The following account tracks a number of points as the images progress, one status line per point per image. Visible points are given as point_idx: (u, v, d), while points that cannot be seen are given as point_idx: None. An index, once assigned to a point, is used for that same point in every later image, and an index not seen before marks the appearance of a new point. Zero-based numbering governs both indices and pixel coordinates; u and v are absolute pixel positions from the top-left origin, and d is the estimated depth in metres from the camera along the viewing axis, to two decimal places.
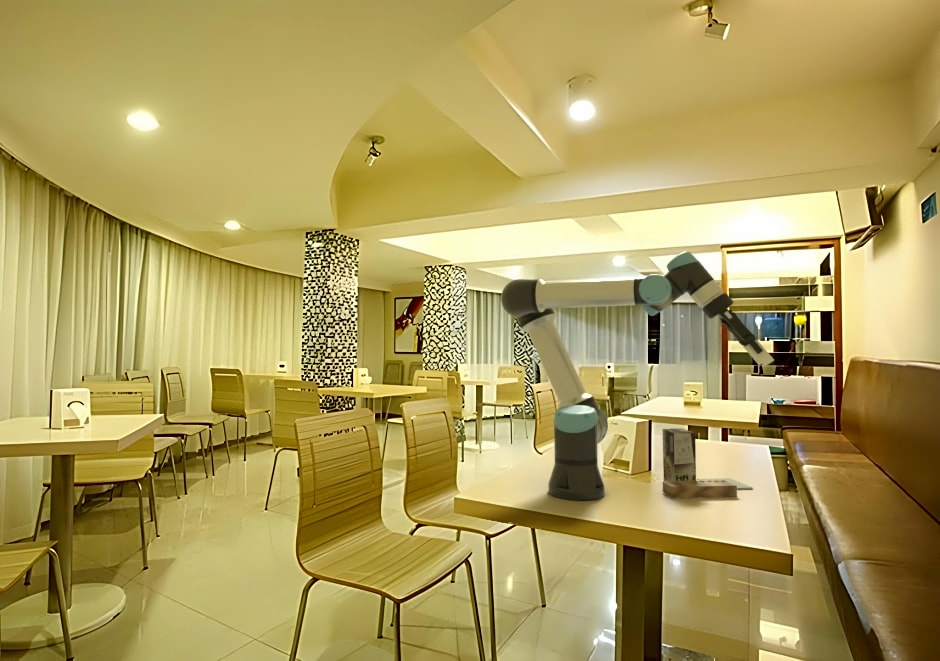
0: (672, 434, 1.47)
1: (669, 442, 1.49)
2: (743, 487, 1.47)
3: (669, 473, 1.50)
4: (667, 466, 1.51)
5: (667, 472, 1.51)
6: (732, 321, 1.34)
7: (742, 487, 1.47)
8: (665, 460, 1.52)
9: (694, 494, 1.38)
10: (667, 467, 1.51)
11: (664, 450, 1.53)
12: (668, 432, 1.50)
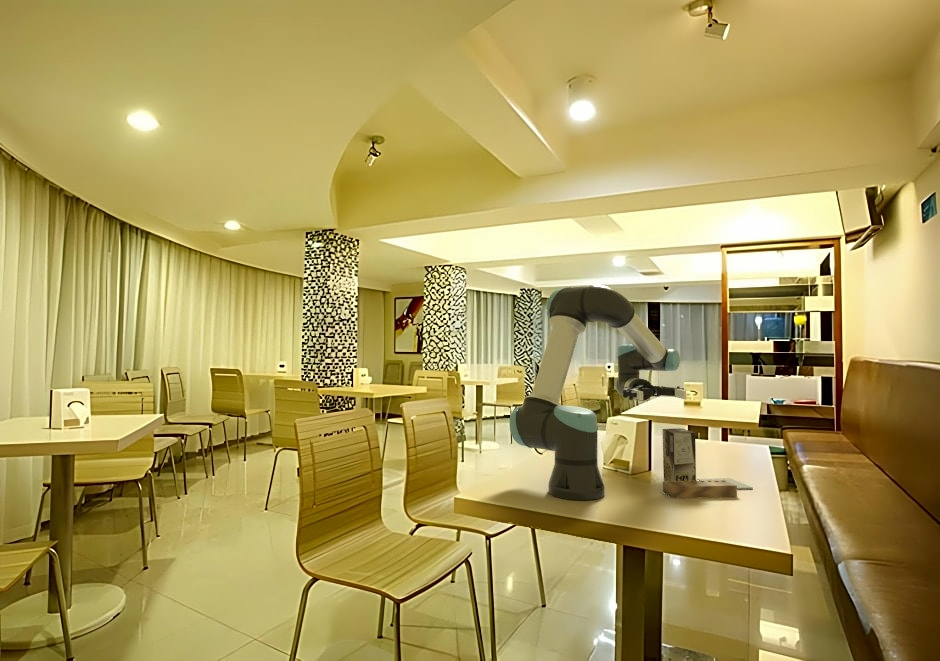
0: (672, 434, 1.47)
1: (669, 442, 1.49)
2: (743, 487, 1.47)
3: (669, 473, 1.50)
4: (666, 466, 1.51)
5: (667, 472, 1.51)
6: None
7: (742, 487, 1.47)
8: (665, 460, 1.52)
9: (694, 494, 1.38)
10: (667, 467, 1.51)
11: (664, 450, 1.53)
12: (668, 432, 1.50)
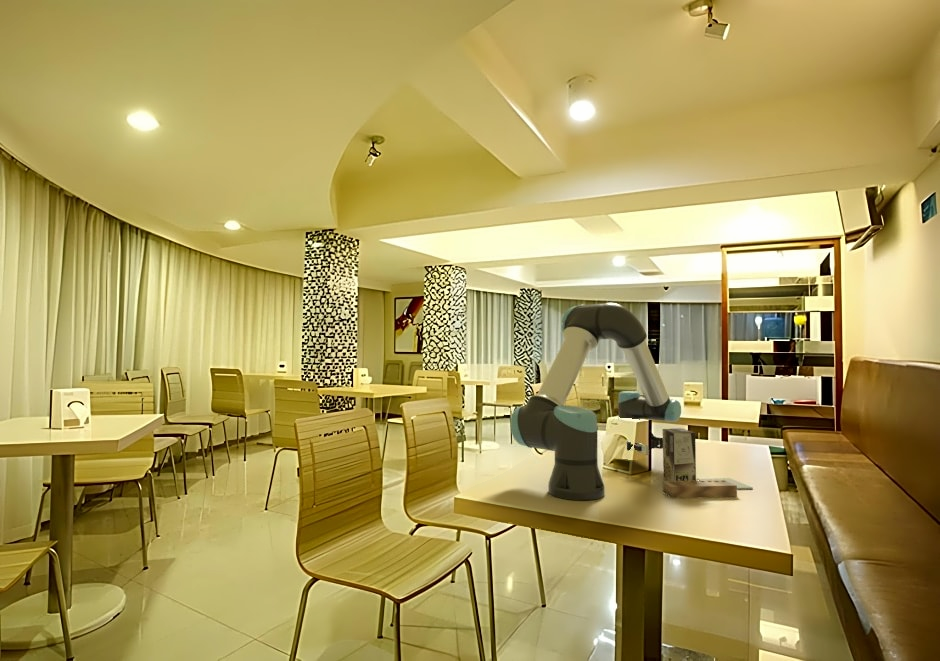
0: (672, 434, 1.47)
1: (669, 442, 1.49)
2: (743, 487, 1.47)
3: (669, 473, 1.50)
4: (667, 466, 1.51)
5: (667, 472, 1.51)
6: None
7: (742, 487, 1.47)
8: (665, 460, 1.52)
9: (694, 494, 1.38)
10: (667, 467, 1.51)
11: (664, 450, 1.53)
12: (668, 432, 1.50)
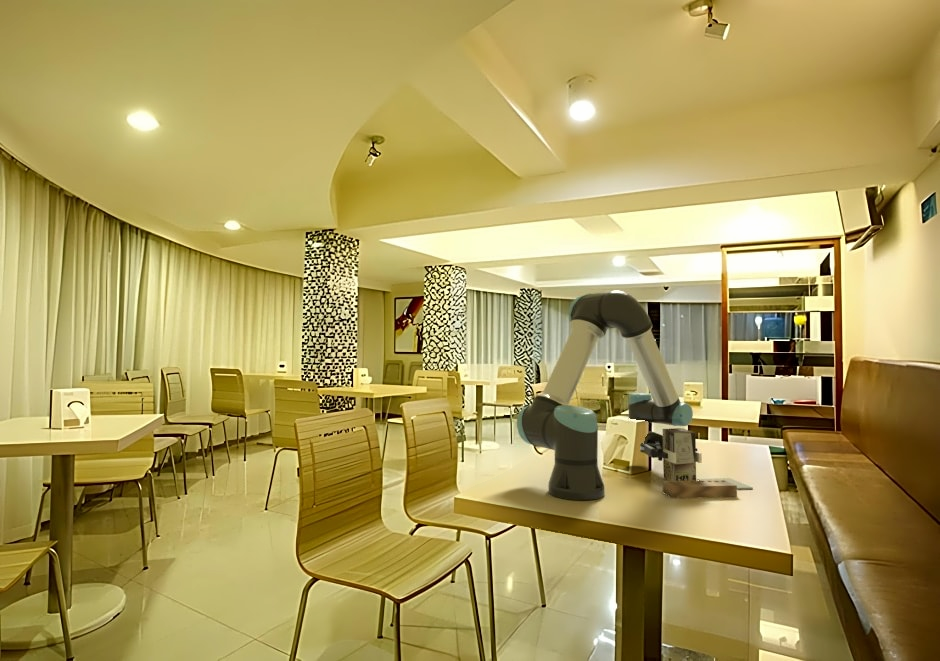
0: (672, 434, 1.47)
1: (669, 442, 1.49)
2: (743, 487, 1.47)
3: (669, 473, 1.49)
4: (667, 466, 1.51)
5: (667, 472, 1.51)
6: None
7: (742, 487, 1.47)
8: (665, 460, 1.52)
9: (694, 494, 1.38)
10: (667, 467, 1.51)
11: None
12: (668, 432, 1.50)
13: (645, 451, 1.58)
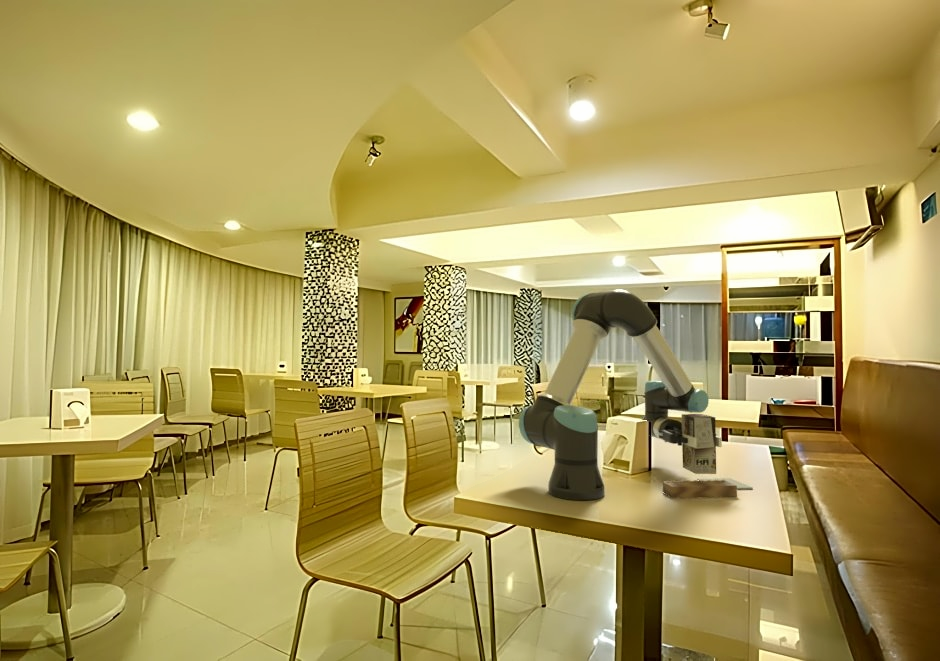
0: (692, 419, 1.49)
1: (689, 427, 1.50)
2: (743, 487, 1.47)
3: (689, 457, 1.51)
4: (686, 451, 1.52)
5: (687, 457, 1.52)
6: None
7: (742, 487, 1.47)
8: (684, 445, 1.54)
9: (694, 494, 1.38)
10: (687, 452, 1.52)
11: None
12: (688, 417, 1.51)
13: (664, 436, 1.59)
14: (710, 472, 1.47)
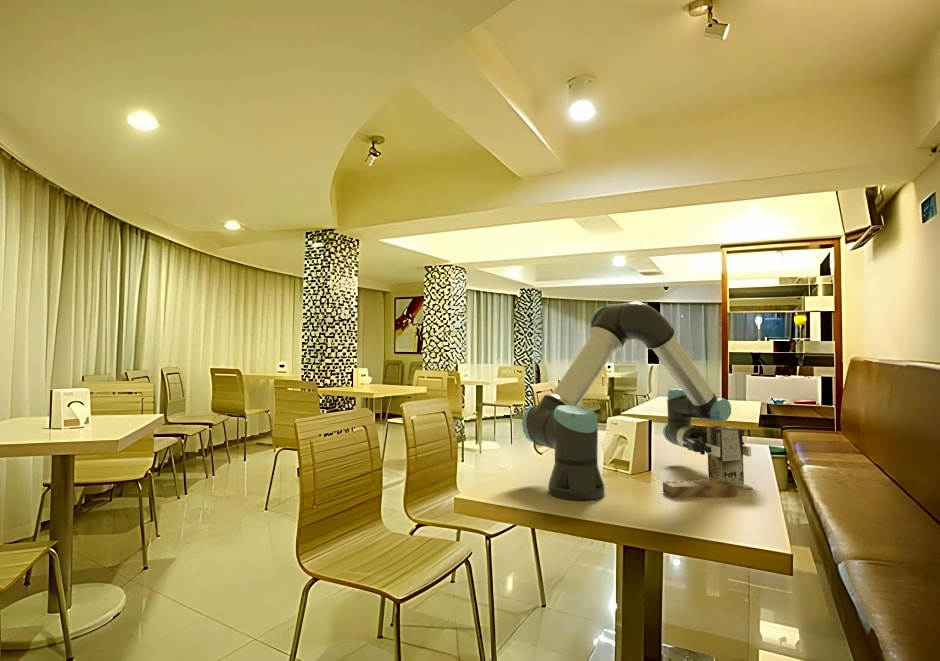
0: (719, 431, 1.49)
1: (716, 439, 1.50)
2: (743, 487, 1.47)
3: (715, 470, 1.51)
4: (712, 464, 1.52)
5: (714, 469, 1.52)
6: None
7: (742, 487, 1.47)
8: (710, 457, 1.54)
9: (694, 494, 1.38)
10: (714, 464, 1.52)
11: None
12: (714, 429, 1.51)
13: (688, 445, 1.60)
14: (738, 485, 1.47)
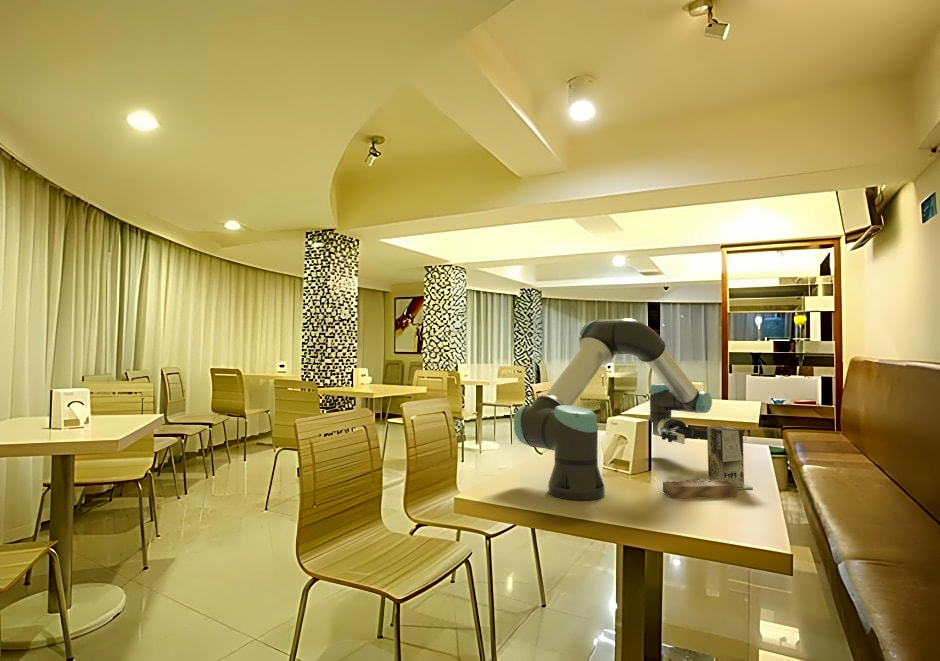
0: (720, 432, 1.48)
1: (716, 440, 1.50)
2: (743, 487, 1.47)
3: (716, 470, 1.51)
4: (713, 464, 1.52)
5: (714, 469, 1.52)
6: None
7: (742, 487, 1.47)
8: (711, 458, 1.53)
9: (694, 494, 1.38)
10: (714, 465, 1.52)
11: (709, 448, 1.54)
12: (715, 430, 1.51)
13: None
14: (738, 485, 1.47)
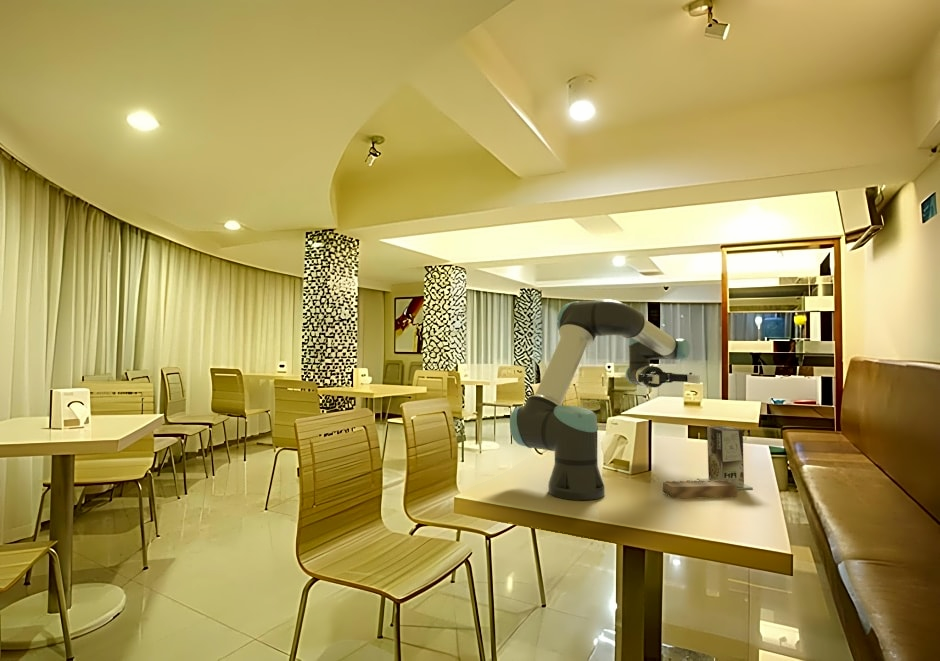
0: (720, 432, 1.48)
1: (716, 440, 1.50)
2: (743, 487, 1.47)
3: (716, 470, 1.51)
4: (713, 464, 1.52)
5: (714, 469, 1.52)
6: None
7: (742, 487, 1.47)
8: (711, 458, 1.53)
9: (694, 494, 1.38)
10: (714, 464, 1.52)
11: (709, 448, 1.54)
12: (715, 430, 1.51)
13: None
14: (738, 485, 1.47)
